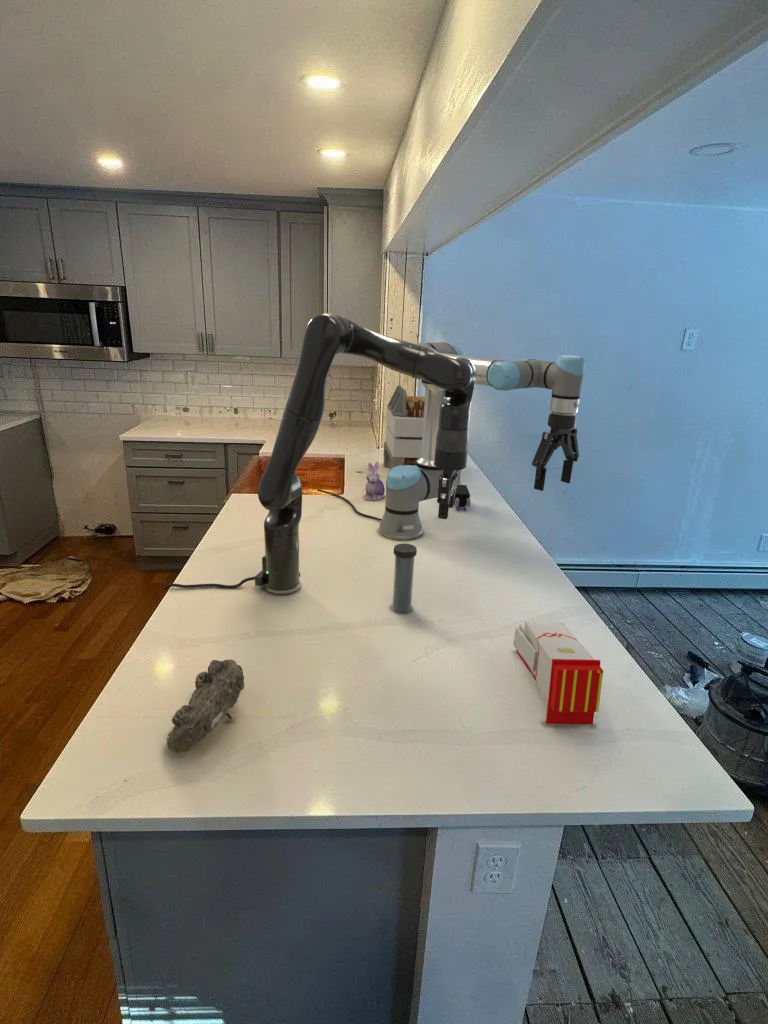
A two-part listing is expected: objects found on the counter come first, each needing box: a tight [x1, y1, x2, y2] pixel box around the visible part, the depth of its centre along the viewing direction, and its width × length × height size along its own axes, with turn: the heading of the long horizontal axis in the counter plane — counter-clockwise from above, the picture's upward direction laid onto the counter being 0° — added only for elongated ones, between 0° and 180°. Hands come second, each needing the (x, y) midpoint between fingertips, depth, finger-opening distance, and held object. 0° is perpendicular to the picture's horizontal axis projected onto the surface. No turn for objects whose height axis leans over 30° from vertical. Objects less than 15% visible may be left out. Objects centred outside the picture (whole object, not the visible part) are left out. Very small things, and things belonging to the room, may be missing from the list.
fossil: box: [166, 658, 245, 754], centre depth 106 cm, size 22×10×15 cm
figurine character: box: [454, 484, 471, 512], centre depth 229 cm, size 7×8×15 cm
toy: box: [512, 621, 604, 726], centre depth 121 cm, size 12×13×30 cm
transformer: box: [383, 384, 462, 484], centre depth 268 cm, size 34×33×41 cm
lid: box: [393, 543, 418, 558], centre depth 145 cm, size 6×6×2 cm
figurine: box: [364, 461, 386, 501], centre depth 234 cm, size 9×10×15 cm
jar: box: [391, 555, 416, 614], centre depth 147 cm, size 5×5×17 cm
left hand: (445, 512), depth 137 cm, fingers open, 8 cm apart
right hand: (552, 485), depth 166 cm, fingers open, 13 cm apart
